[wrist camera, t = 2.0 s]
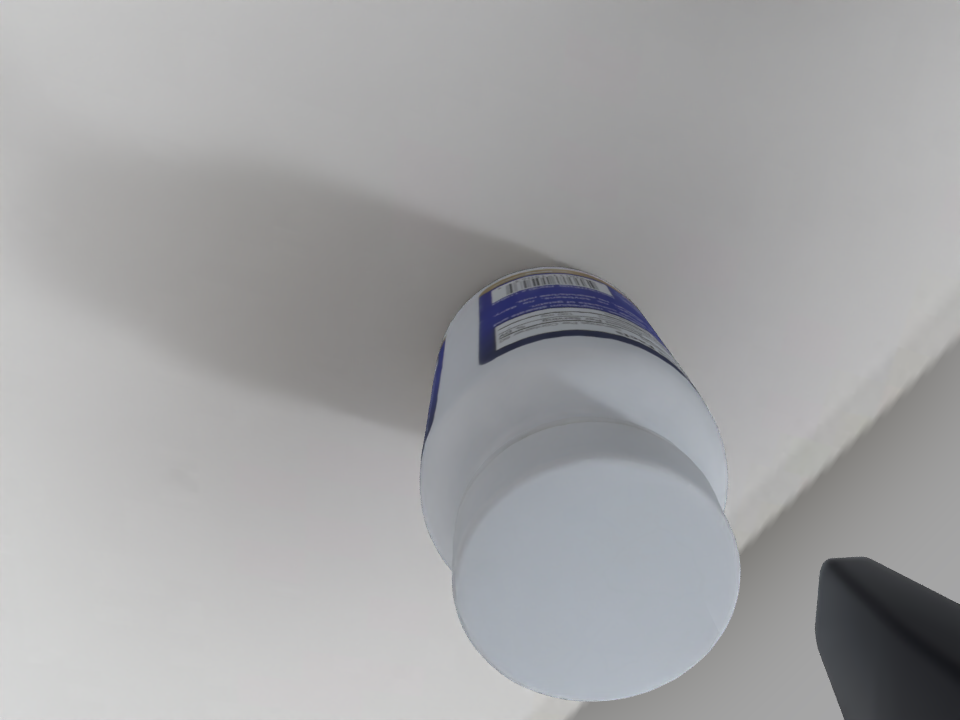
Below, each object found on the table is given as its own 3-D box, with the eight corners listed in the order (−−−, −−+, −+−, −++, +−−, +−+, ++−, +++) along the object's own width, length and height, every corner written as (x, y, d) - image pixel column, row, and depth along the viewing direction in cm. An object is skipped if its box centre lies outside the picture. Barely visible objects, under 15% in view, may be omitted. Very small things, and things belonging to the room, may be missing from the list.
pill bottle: (568, 503, 20) (624, 797, 12) (396, 394, 19) (328, 631, 11) (702, 342, 19) (872, 549, 11) (523, 215, 18) (555, 333, 10)
